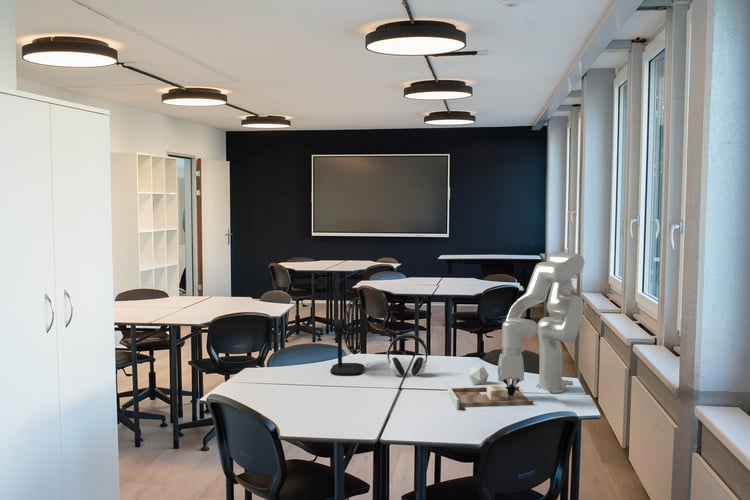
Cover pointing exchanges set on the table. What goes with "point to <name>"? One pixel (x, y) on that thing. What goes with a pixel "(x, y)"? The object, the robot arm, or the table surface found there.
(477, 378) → the die
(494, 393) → the block
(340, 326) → the desk fan
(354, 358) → the table surface
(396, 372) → the headphones
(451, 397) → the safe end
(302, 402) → the table surface
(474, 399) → the box
